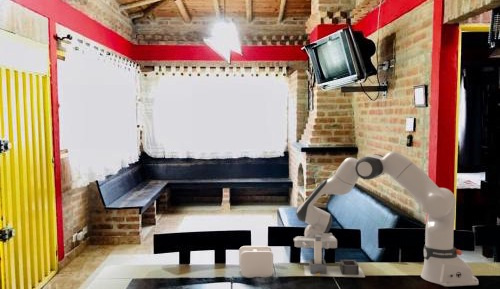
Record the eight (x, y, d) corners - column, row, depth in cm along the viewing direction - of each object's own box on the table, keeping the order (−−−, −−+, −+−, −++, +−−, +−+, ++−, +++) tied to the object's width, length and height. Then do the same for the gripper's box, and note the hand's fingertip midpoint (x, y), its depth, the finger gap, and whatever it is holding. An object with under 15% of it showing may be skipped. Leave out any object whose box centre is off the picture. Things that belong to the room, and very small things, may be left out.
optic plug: (320, 269, 188) (320, 234, 188) (321, 272, 184) (321, 237, 184) (314, 269, 188) (314, 234, 188) (314, 272, 184) (314, 236, 184)
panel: (359, 269, 191) (359, 258, 191) (365, 279, 178) (365, 268, 178) (303, 267, 193) (303, 257, 193) (305, 277, 180) (305, 266, 180)
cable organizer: (239, 278, 180) (239, 252, 180) (239, 269, 191) (239, 245, 190) (273, 277, 181) (273, 251, 180) (271, 269, 191) (271, 244, 191)
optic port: (324, 267, 190) (324, 259, 190) (326, 274, 182) (326, 265, 182) (309, 267, 191) (309, 259, 190) (310, 273, 183) (310, 264, 182)
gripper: (293, 232, 204) (294, 239, 190) (335, 233, 203) (338, 240, 189) (293, 244, 204) (294, 253, 191) (334, 245, 203) (338, 254, 189)
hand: (316, 247), depth 190 cm, fingers open, 8 cm apart
